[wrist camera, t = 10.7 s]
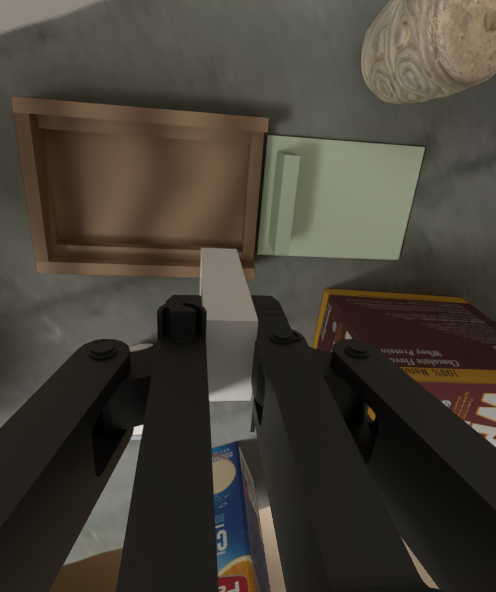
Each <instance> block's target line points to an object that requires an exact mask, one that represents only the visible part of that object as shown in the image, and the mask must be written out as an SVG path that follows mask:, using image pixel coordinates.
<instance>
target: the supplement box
mask: <svg viewBox="0 0 496 592" xmlns="http://www.w3.org/2000/svg"><path fill="white" fill-rule="evenodd" d="M343 339H356V340H357V339H358V340H362V341H363V342H366V343H369V344H371V345H372V346H374V347H375V348H377V349H378V350H379V351H380V352H382V353H383V354H384V355H385V356H386V357H388V358H389V359H390V360H391V361H392V362H394V363H395V364H396V365H397V366H399V367H400V368H401V369H402V370H403V371H405V372H406V373H407V374H408V375H409V376H411V377H412V378H413V379H414V380H415V381H417V382H418V383H419V384H420V385H421V386H423V387H424V388H425V389H426V390H427V391H429V392H430V393H431V394H432V395H434V396H435V397H436V398H437V399H438V400H440V401H441V402H442V403H443V404H444V405H446V406H447V407H448V408H449V409H450V410H452V411H453V412H454V413H455V414H456V415H458V416H459V417H460V418H461V419H463V420H464V421H465V422H466V423H467V424H469V425H470V426H471V427H472V428H473V429H475V430H476V431H477V432H478V433H479V434H481V435H482V436H483V437H484V438H485V439H487V440H488V441H489V442H490V443H491V444H493V445H494V446H495V447H496V322H494V321H493V320H491V319H490V318H488V317H487V316H486V315H484V314H483V313H482V312H480V311H479V310H477V309H476V308H475V307H473V306H472V305H471V304H469V303H468V302H466V301H465V300H464V299H462V298H460V297H446V296H431V295H417V294H403V293H388V292H374V291H359V290H344V289H325V290H324V295H323V300H322V305H321V309H320V314H319V319H318V324H317V329H316V333H315V338H314V343H313V348H315V349H319V350H325V351H330V352H332V350H333V344H335V343H336V342H337V341H339V340H343ZM367 414H368V416H369V417H370V418H371V419H372V420H374V419H375V416H376V415H375V413H374V412H373V411H372V409H371V408H370V407H369V409H368V413H367Z"/></svg>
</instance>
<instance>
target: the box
mask: <svg viewBox="0 0 496 592" xmlns="http://www.w3.org/2000/svg"><path fill="white" fill-rule="evenodd" d="M11 100H12V106H13V113H14V120H15V127H16V133H17V140H18V147H19V154H20V161H21V167H22V174H23V181H24V188H25V194H26V201H27V208H28V215H29V221H30V228H31V235H32V242H33V249H34V255H35V262H36V269H37V273H51V274H84V275H118V276H151V277H185V278H200V263H201V248H223V249H237V253H238V256H239V259H240V262H241V266H242V269H243V272H244V276H245V279H252V280H254V279H255V266H254V264H253V259H254V247H255V236H256V224H257V212H258V201H259V189H260V177H261V165H262V154H263V142H264V132H268V121H269V118H264V117H252V116H240V115H228V114H216V113H204V112H192V111H180V110H168V109H156V108H144V107H132V106H120V105H108V104H96V103H84V102H72V101H60V100H48V99H36V98H24V97H12V96H11Z"/></svg>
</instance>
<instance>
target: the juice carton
mask: <svg viewBox="0 0 496 592" xmlns="http://www.w3.org/2000/svg"><path fill="white" fill-rule="evenodd" d="M212 468H213V488H214V507H215V527H216V546H217V566H218V585H219V592H270V585H269V579H268V572H267V565H266V558H265V552H264V545H263V538H262V533H261V525H260V518H259V511H258V504H257V498H256V491H255V484H254V481H253V479H252V476H251V474H250V471H249V469H248V466H247V464H246V461H245V459H244V456H243V454H242V452H241V449H240V447H239V444H238V442H237V441H236V442H232V443H229V444H226V445H223V446H219V447H216V448H213V449H212Z"/></svg>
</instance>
